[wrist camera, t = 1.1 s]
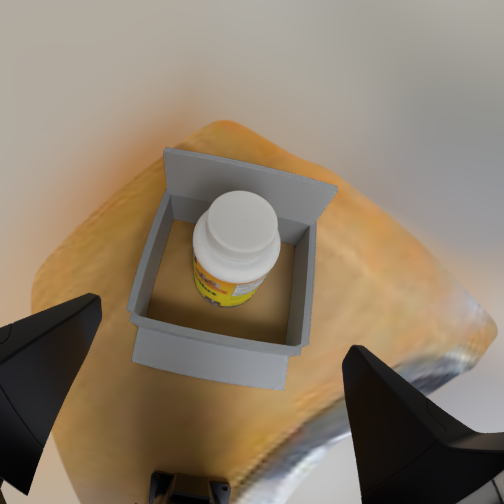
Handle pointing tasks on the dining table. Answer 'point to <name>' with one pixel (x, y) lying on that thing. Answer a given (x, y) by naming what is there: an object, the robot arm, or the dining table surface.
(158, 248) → the carton
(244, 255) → the supplement bottle
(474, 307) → the dining table surface
